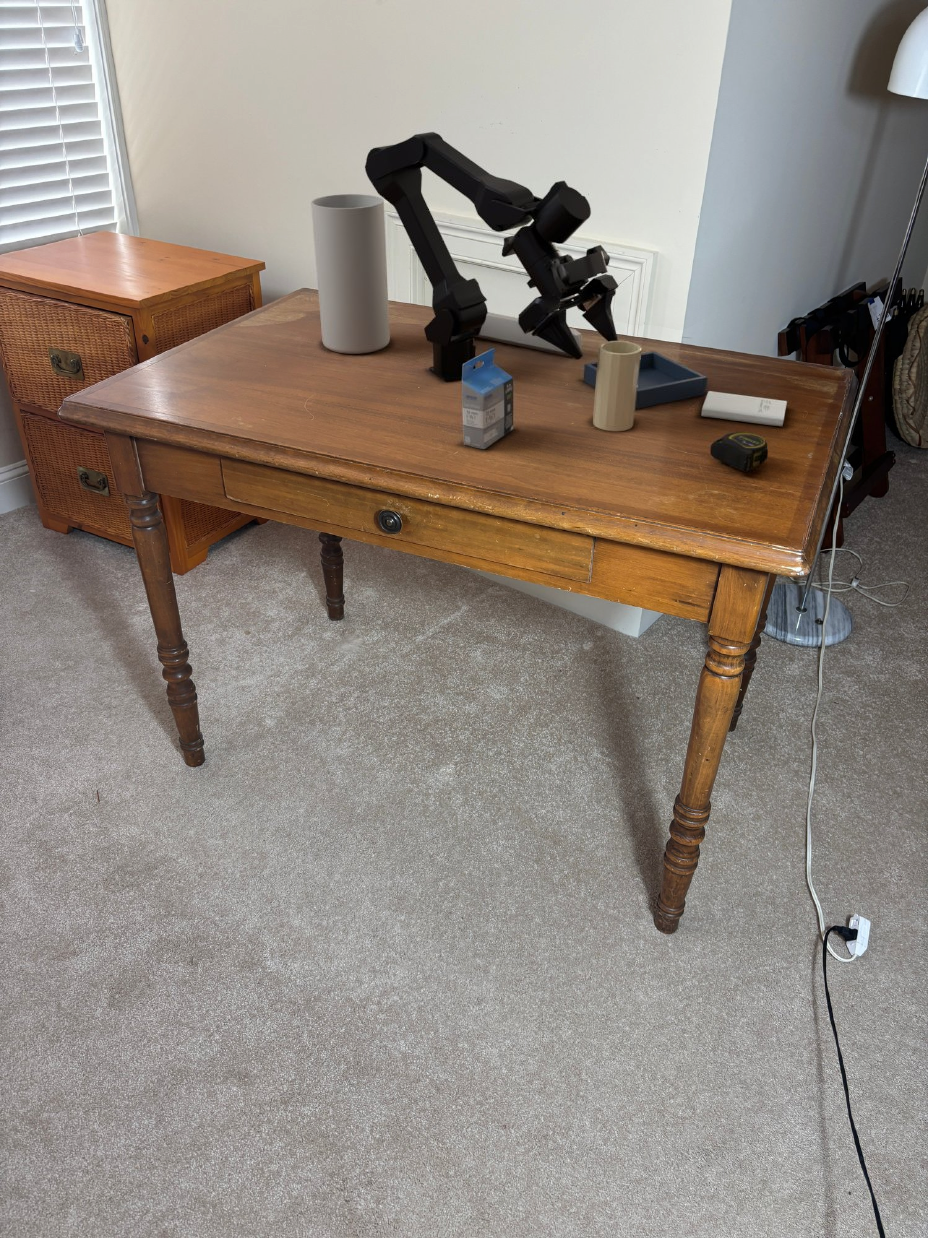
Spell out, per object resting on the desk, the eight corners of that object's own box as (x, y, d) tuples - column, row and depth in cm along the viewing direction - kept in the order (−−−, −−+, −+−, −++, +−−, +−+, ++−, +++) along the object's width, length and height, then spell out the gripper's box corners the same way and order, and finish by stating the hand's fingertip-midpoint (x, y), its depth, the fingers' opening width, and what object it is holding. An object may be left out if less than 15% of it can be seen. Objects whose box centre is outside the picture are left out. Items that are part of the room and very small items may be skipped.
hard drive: (707, 399, 161) (785, 408, 158) (700, 417, 155) (782, 427, 151) (708, 389, 160) (787, 399, 157) (702, 407, 154) (784, 417, 151)
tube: (589, 330, 178) (471, 307, 189) (578, 328, 174) (457, 304, 184) (583, 360, 180) (466, 335, 191) (571, 358, 175) (452, 333, 186)
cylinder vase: (386, 355, 178) (380, 208, 164) (318, 354, 178) (305, 208, 164) (392, 333, 188) (386, 193, 175) (327, 333, 189) (316, 193, 175)
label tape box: (484, 450, 144) (485, 368, 137) (460, 444, 146) (461, 363, 139) (514, 430, 150) (516, 351, 143) (491, 424, 152) (492, 346, 145)
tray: (633, 409, 157) (635, 391, 156) (583, 380, 168) (584, 363, 166) (705, 394, 163) (707, 376, 161) (652, 367, 174) (654, 350, 172)
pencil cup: (607, 434, 149) (615, 356, 142) (585, 419, 154) (591, 344, 147) (641, 426, 152) (649, 350, 145) (617, 413, 156) (625, 338, 149)
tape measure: (705, 461, 141) (709, 437, 139) (738, 450, 144) (742, 426, 142) (741, 478, 136) (745, 453, 134) (775, 466, 140) (779, 442, 138)
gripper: (537, 239, 137) (596, 335, 137) (613, 218, 148) (667, 306, 148) (492, 287, 145) (548, 377, 145) (567, 263, 157) (619, 346, 157)
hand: (598, 350), depth 149 cm, fingers open, 9 cm apart
